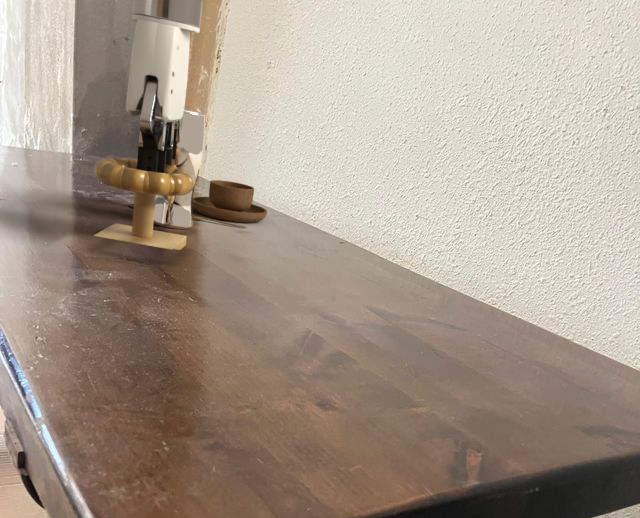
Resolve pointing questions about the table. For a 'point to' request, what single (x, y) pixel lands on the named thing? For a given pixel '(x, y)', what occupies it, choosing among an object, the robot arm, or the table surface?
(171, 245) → the post
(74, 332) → the table surface
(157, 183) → the ring
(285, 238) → the table surface
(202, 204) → the place setting
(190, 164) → the beer glass
